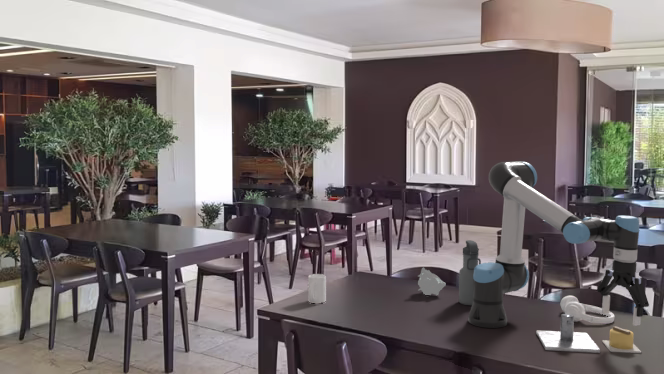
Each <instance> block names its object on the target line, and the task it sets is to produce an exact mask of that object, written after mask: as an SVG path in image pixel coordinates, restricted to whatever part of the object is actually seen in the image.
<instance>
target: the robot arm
mask: <svg viewBox="0 0 664 374" xmlns="http://www.w3.org/2000/svg"><path fill="white" fill-rule="evenodd" d="M537 181H538V174H537V171H536V169H535V167H534V166H533V165H532V164H531V163H529V162H526V161H521V160H520V161H515V160H514V161H501V162H498V163H495V165H493V166H492V167H491V169H490V171H489V173H488V182H489V184H490V186H491V188H492V189H493V190H494V191H495V192H497V193H498V194H500V195H501V196H502V197H503V208H502V220H501V221H502V222H501V224H502V225H501V233H500V247H499V248H500V249H499V254H498V255H497V256H496V257H495V262H483V263H482V262H481V264H479V263H478V265H477V266H476V267H475V268H474V274H473V304H472V306H470V309H469V313H468V316H467V317H468V318H467V321H468V323H469V324H471V325H474V326H476V327H479V328H486V329H487V328H489V329H496V328H503V327H505V326H507V325H508V316H507V313H506V310H505V308H504V307H505V306H504V294H508V293H512V292H517V291H519V290H521V289H523V288H524V287H526V286H527V284H528V283H529V279H530V272H529V269H528V268H527V266H526V262H525V259H524V258H523V257H522V255H523V254H522V253H523V241H524V230H525V229H524V228H525V227H524V226H525V215H526V209H527V210H528V211H530V212H531V213H532V214H534V215H536V216H537V217H538V218H540V219H541V220H543V221H544V222H546V223H548V224H549V225H550V226H552V227H553V228H555V229H557V231H560V232H561V233H562V234H563V235H562V236H563V237H564V239H565V241H566V242H568V243H570V244H573V245H574V244H575V245H581V244H585V243H588V242H594V241H598V240H601V241H608V242H613V253H612V258H613V260H612V267H611V269H605V273H604V276H603V278H602V280H601V282H600V284H599V285H598V287H597V292H598V293H599V294H600V295H601V304H602V305H601V308H602V313H603V314H605V313H609V311H610V305H611V295H610V293H611V292H612V291H613V290H614V289H615V288H616V287H617V286H621V287H622V288H624V289H626V290H627V291H628V293H629V295H630V297H631V299H632V301H633V302H634V305H635V306H633V314H632V315H633V316H632V326H634V327H636V326H641V320H642V317H643V315H644V308H647V307H650V304H649V300H648V298H647V294H646V292H645V291H646V290H645V288H644V285H643V283H644V282H643V280H644V279H643V278H642V277H636V276H635V274H636V272H637V262H636V261H637V260H638V249H639V247H638V245H639V237H640V235H639V234H640V232H641V231H640V219H639V218H638V217H636V216H632V215H617V216H616V217H615V219H606V218H601V217H600V218H599V217H595V216H591V217H590V216H585V217H583V219H581V218H579V217H578V216H576V215H575V214H573V213H572V212H571V211H569V210H567V209H566V208H564V207H563V206H562V205H559V204H557V202H555V201H554V200H551V199H550V198H548V197H547V196H546V195H544V194H542V193H541V192H539V191H537V190H536V189H535V188H534V187H535V185H536V184H537Z"/></svg>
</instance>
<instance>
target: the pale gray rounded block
mask: <svg viewBox="0 0 664 374" xmlns="http://www.w3.org/2000/svg"><path fill="white" fill-rule="evenodd" d="M307 278H308V280H307V281H308V282H307V286H308V287H307V290H308V291H307V293H308V297H307V299H308V301H309V302H312V303H321V302H325V301H326V302H327V276H326V275H325V274H323V273H312V274H309V275H308V277H307ZM308 301H307V302H308ZM309 302H308V303H309ZM326 302H325V303H326Z"/></svg>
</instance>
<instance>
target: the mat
mask: <svg viewBox="0 0 664 374" xmlns="http://www.w3.org/2000/svg"><path fill="white" fill-rule="evenodd" d="M601 342H602V343H603V344H604V345H605V347H606V349H608V350H609V351H610V352H612V353H629V354H630V353H632V354H633V353H635V354H642V351H641V350H640V349H639V347H638V346H637V345H635V344H634V343H633V348H632V349H618V348H614V347H612V346H610V345H609V340H606V339H605V340H604V339H602V341H601Z"/></svg>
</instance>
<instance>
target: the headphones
mask: <svg viewBox="0 0 664 374" xmlns="http://www.w3.org/2000/svg"><path fill="white" fill-rule="evenodd" d="M559 303H560V304H559V305H560V307H561V310H562V312H563V313H564V314H570V315H573V316H574V322H580V321H585V322H589V323H591V324H599V325H601V324H602V325H603V324H605V325H607V324H611V323H613V322H614V321H615V314H614V313H613V312H612V311H610V310H609V313H605V314H603V313H602V307H598V306H595V305H590V304H585V303H580V301H579V300H578V297H576V296H574V295H566V296H563V298H562V299H561V300H560V302H559ZM586 311H587V312H592V313H595V312H596V313H595V314H599V313H600V314H599V315H602V314H603V315H602V316H604V315H606V316H605V317H601V316H600V317H598V316H593V315H589V314H586ZM607 316H608V317H607Z"/></svg>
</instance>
